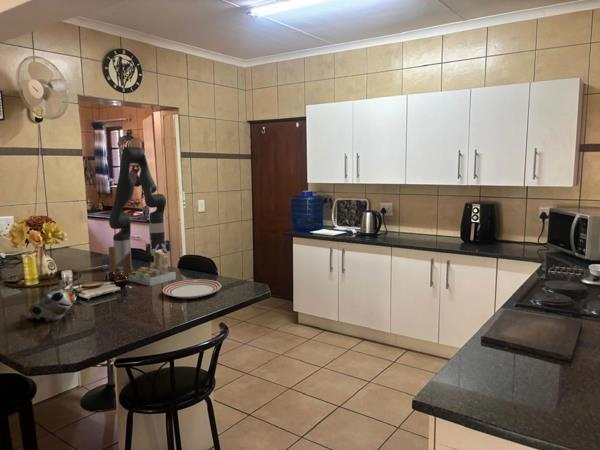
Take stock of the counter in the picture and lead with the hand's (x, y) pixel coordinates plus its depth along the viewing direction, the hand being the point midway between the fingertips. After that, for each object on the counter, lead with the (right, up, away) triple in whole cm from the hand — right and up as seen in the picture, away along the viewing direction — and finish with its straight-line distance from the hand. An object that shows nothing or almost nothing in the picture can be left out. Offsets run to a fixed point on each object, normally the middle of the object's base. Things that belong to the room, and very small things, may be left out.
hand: (158, 260), depth 241 cm
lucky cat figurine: (-23, -18, -60) cm, 67 cm away
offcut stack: (-5, -10, -5) cm, 13 cm away
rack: (-3, -10, -3) cm, 11 cm away
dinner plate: (+25, -14, -27) cm, 39 cm away
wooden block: (-21, -10, 0) cm, 23 cm away
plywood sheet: (0, -10, +1) cm, 10 cm away
